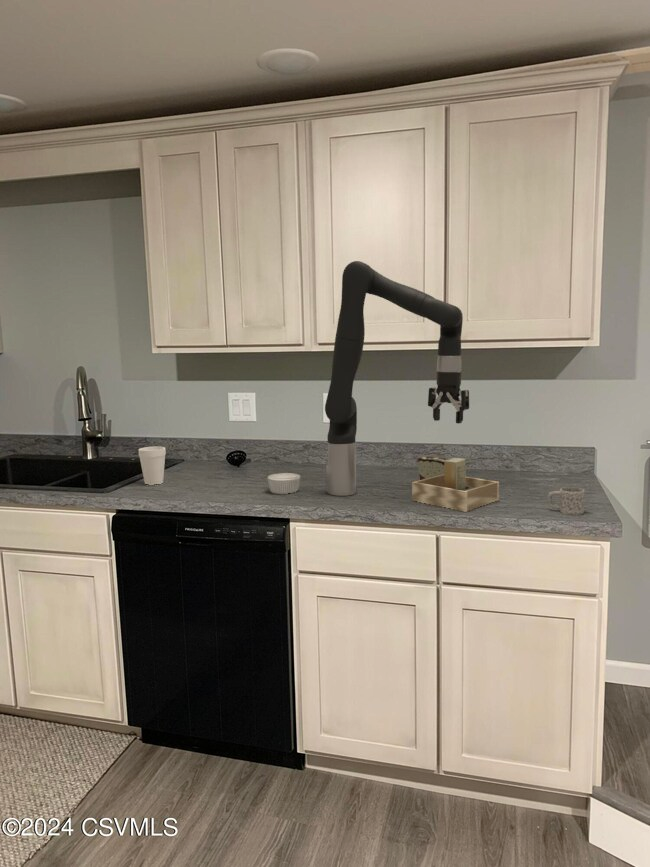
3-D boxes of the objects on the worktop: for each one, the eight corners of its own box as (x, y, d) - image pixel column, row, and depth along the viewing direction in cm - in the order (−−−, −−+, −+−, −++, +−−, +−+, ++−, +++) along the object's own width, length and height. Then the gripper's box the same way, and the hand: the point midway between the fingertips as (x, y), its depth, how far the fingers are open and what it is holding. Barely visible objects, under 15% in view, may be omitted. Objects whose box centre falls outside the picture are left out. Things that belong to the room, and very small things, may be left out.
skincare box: (454, 494, 215) (454, 457, 213) (466, 496, 212) (466, 458, 210) (443, 498, 210) (443, 460, 208) (455, 500, 207) (456, 461, 205)
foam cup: (172, 482, 246) (170, 447, 244) (152, 487, 239) (150, 451, 237) (155, 479, 252) (153, 445, 250) (135, 484, 244) (133, 449, 242)
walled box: (412, 500, 212) (411, 482, 211) (446, 491, 224) (446, 473, 223) (465, 512, 198) (465, 492, 197) (498, 500, 210) (499, 482, 209)
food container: (456, 485, 232) (456, 457, 230) (446, 489, 227) (446, 460, 226) (425, 481, 240) (425, 453, 238) (416, 484, 235) (416, 456, 234)
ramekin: (283, 497, 221) (282, 481, 221) (261, 492, 229) (260, 476, 228) (307, 490, 229) (307, 475, 229) (285, 486, 237) (284, 471, 236)
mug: (583, 509, 198) (584, 487, 197) (584, 515, 192) (585, 492, 191) (547, 507, 201) (548, 485, 200) (547, 513, 195) (548, 490, 194)
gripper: (423, 369, 212) (422, 420, 215) (460, 371, 202) (459, 425, 204) (438, 368, 217) (437, 418, 220) (475, 370, 207) (473, 423, 209)
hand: (447, 421), depth 212 cm, fingers open, 8 cm apart
